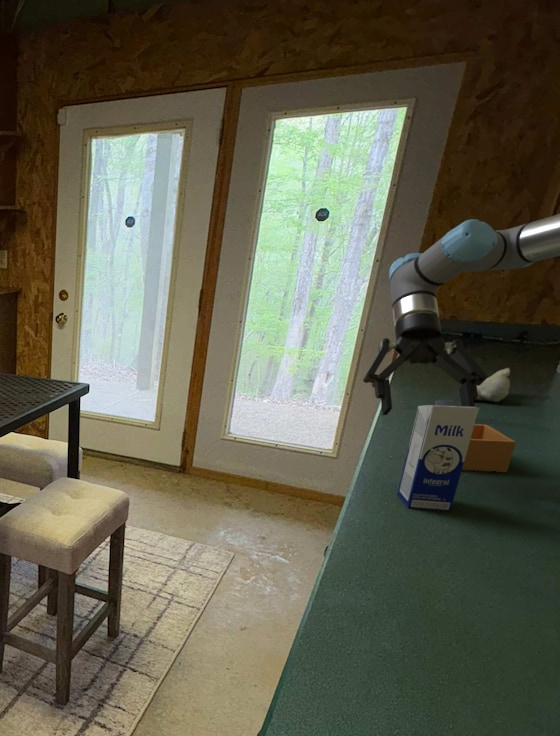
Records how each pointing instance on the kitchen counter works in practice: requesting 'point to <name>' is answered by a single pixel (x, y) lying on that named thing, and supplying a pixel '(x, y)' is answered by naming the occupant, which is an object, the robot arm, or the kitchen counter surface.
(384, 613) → the kitchen counter surface
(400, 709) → the kitchen counter surface
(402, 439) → the kitchen counter surface
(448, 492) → the milk carton
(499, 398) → the white lumpy piece
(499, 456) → the bin
